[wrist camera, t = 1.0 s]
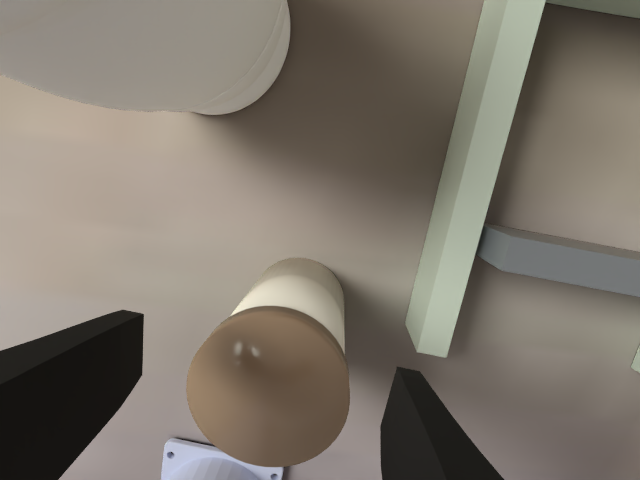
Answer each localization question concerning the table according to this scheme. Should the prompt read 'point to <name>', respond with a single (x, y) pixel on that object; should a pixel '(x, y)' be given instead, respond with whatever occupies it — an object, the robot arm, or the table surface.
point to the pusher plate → (560, 259)
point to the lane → (478, 161)
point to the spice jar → (275, 369)
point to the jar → (147, 51)
